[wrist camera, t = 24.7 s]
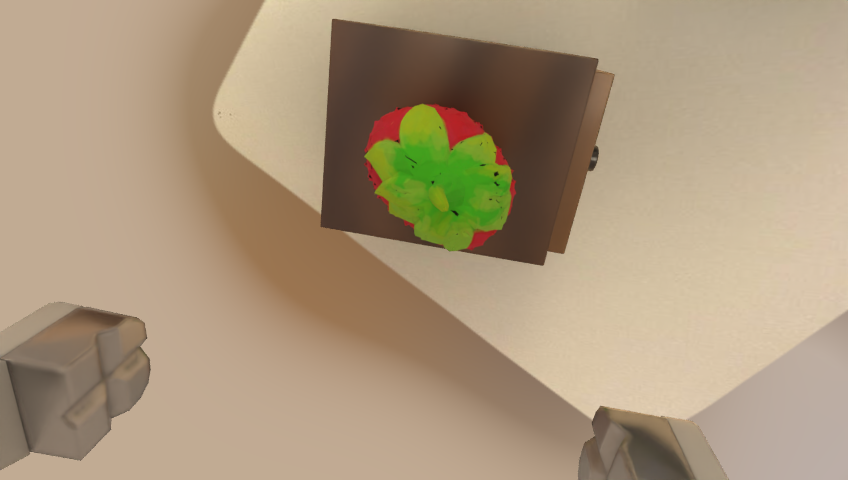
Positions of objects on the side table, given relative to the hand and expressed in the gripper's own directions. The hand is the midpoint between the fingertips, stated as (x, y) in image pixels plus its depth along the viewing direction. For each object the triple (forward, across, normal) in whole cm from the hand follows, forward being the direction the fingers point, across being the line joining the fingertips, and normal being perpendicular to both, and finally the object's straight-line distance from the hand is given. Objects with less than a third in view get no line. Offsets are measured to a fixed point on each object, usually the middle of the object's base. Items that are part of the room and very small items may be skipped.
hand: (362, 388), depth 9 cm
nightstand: (+29, 0, 0) cm, 29 cm away
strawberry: (+20, 0, 0) cm, 20 cm away
